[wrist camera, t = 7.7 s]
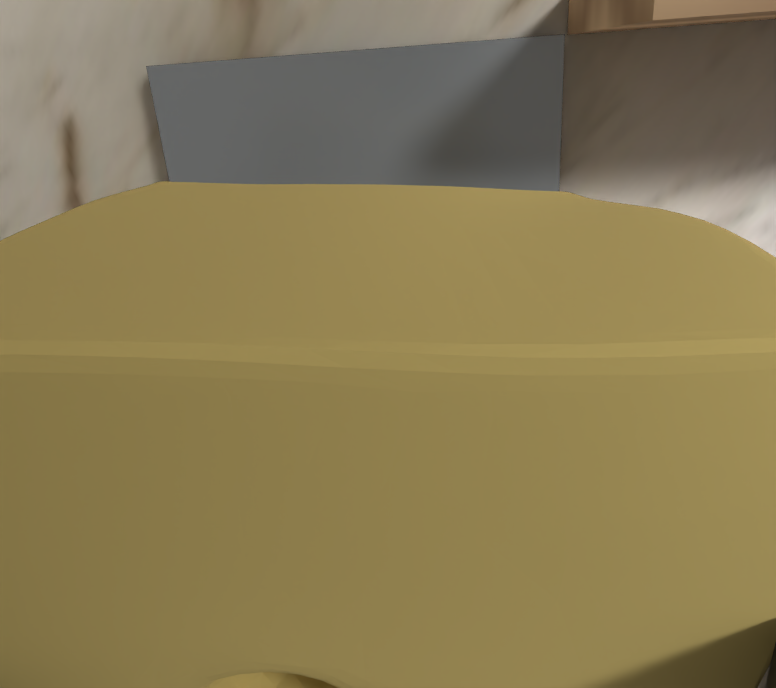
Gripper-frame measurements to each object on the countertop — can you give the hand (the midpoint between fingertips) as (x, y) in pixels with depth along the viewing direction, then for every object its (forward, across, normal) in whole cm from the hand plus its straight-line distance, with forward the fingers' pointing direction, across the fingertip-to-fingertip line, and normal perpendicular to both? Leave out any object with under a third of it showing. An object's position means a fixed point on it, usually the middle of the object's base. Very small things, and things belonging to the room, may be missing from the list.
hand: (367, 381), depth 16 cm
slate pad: (+9, 0, 0) cm, 9 cm away
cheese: (+1, 0, 0) cm, 1 cm away
